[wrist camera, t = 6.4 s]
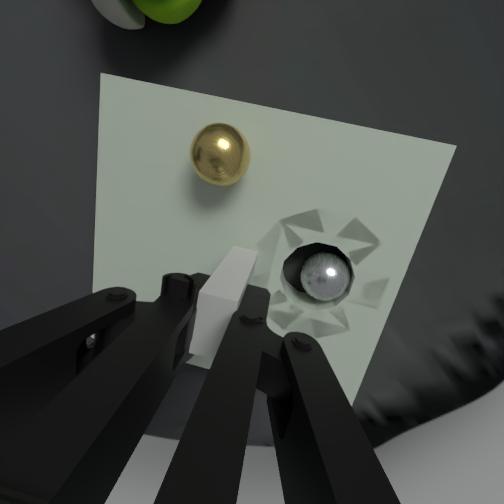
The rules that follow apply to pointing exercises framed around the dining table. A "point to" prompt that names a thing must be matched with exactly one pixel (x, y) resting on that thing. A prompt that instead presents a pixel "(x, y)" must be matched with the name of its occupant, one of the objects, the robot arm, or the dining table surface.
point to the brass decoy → (220, 154)
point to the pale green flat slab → (262, 208)
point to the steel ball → (325, 276)
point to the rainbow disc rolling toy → (145, 11)
